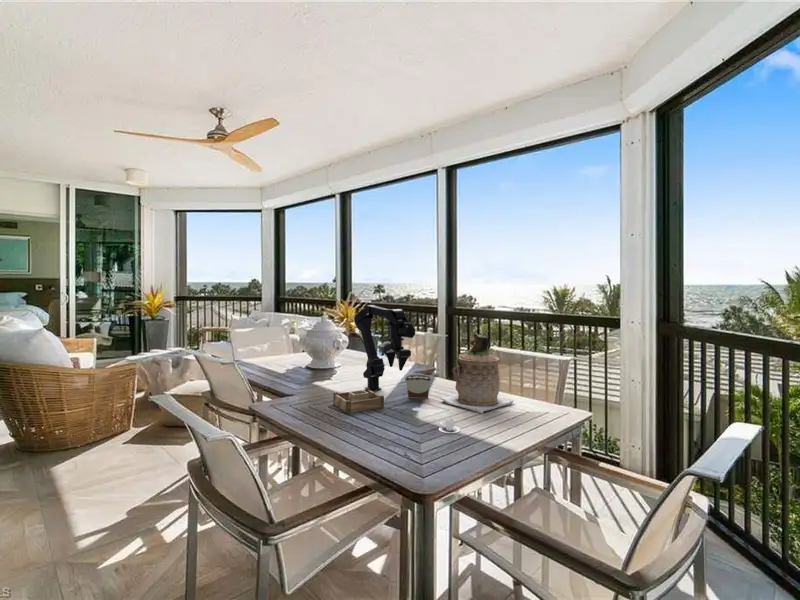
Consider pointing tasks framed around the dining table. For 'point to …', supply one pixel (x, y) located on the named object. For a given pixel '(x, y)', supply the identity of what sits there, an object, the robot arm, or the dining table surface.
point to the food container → (418, 385)
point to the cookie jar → (477, 379)
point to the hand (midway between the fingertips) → (395, 368)
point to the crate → (358, 402)
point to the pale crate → (358, 395)
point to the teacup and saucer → (448, 426)
